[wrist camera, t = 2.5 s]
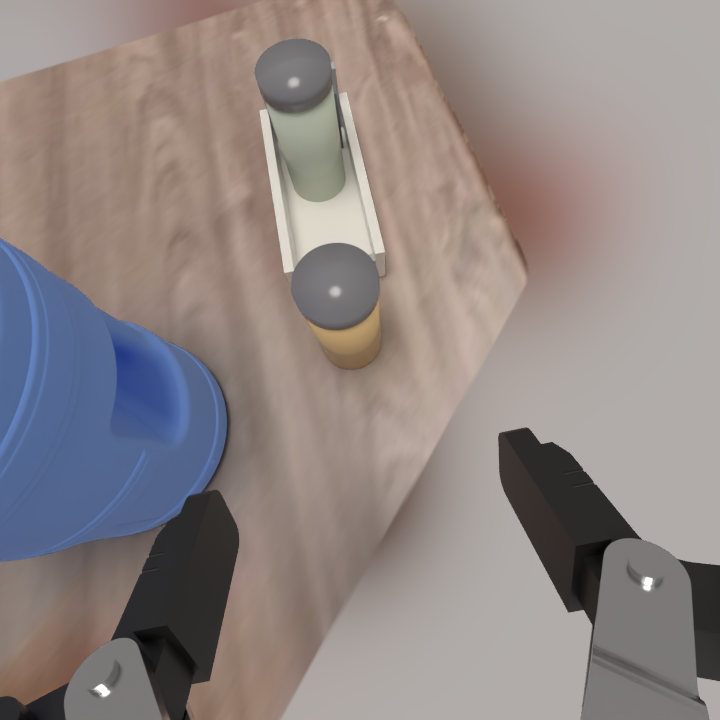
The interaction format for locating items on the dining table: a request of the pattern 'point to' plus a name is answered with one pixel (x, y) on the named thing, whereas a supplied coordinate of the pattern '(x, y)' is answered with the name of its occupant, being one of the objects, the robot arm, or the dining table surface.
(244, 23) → the dining table surface
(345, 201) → the jar lane
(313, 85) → the sage jar
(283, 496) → the dining table surface
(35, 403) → the water jug
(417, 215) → the dining table surface
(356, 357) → the honey jar
